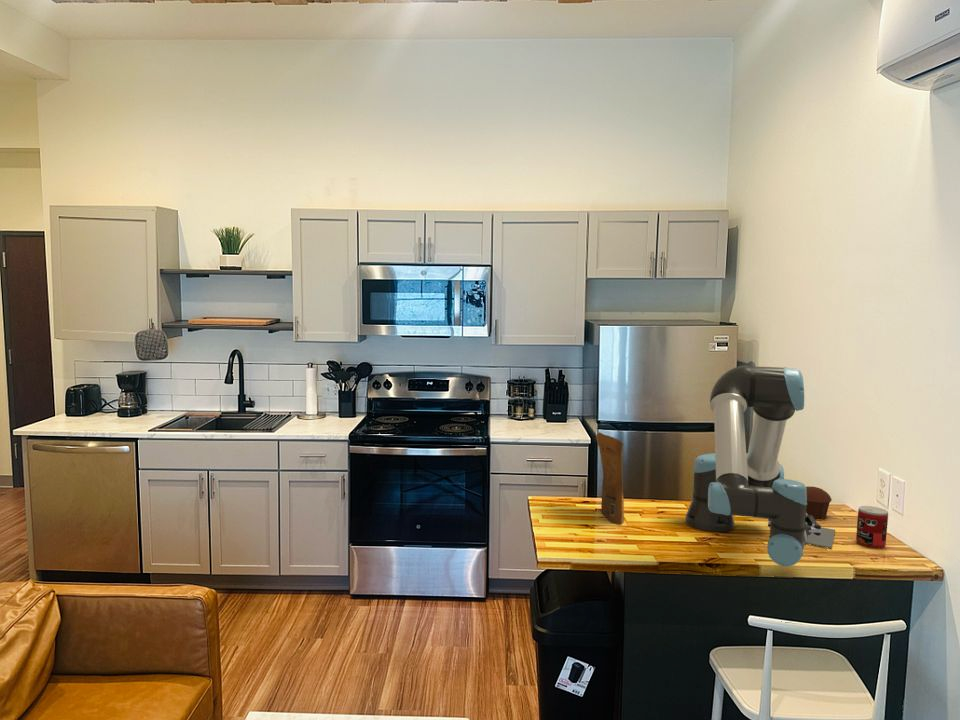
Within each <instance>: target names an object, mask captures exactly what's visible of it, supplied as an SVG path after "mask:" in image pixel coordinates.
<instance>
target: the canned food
mask: <svg viewBox="0 0 960 720" xmlns="http://www.w3.org/2000/svg"><path fill="white" fill-rule="evenodd" d="M888 520H889V511H888V510H886V509H884V508H882V507H877V506H871V505H861V506H858V509H857V520H856V521H857V522H856V534H855V540H856V543H857V544H859V546H862V547H865V548H870V549H884V548H885V547H886V544H887V535H888V534H887V533H888V525H889V524H888Z"/></svg>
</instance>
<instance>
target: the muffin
mask: <svg viewBox="0 0 960 720" xmlns="http://www.w3.org/2000/svg"><path fill="white" fill-rule="evenodd" d="M806 489H807V505H806V513H807V514H808V515H812V516H813V517H814V519H822V520H824V519H823V518H826V519H827V514H828V509H829V508H830V503H831V502H832V501H833V500H832V497H831V495H830V494H829V493H828V492H827V491H826V490H824V489H822V488H820V487H817V486H806Z"/></svg>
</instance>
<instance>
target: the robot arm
mask: <svg viewBox="0 0 960 720" xmlns="http://www.w3.org/2000/svg"><path fill="white" fill-rule="evenodd" d="M709 399H710V400H709V407H710V410H711V411H712V412H713V413H714V416H713V417H714V442H715V443H714V446H715V448H714V450H715V452H714V453H711V452H710V453H705V454H701V455H698V456H697V457H696V458H695V460H694V463H693V464H694V465H693V466H694V467H693V470H692V471H693V481H692V482H693V483H692V498H691V502H690V504H689V507H688V509H687V511H686V514H685V523H686V524H687V525H688V526H690V527H692V528H694V529H697V530H701V531H706V532H715V533H717V532H718V533H719V532H720V533H722V532H730V531H731V530H733V529H734V528H735V519H734V516H737V517H748V518H755V519H763V520H764V519H765V520H767V527H769V540H767V547H766V551H767V555H768V556H769V558H770V559H771V561H773V562H774V564H777V565H779V566H780V567H781V566H782V567H791V566H795V565H797V564H798V562H800V560H801V559H802V557H803V555H804V549H805V545H806V544H805V543H806V540H807V537H808V535H810V534H811V532H812V534H815V535H818V536H820V535H821V527H822V525H821V524H819V523H817V520H815V519H814V517H813V516H812V515H808V516H806V505H807V489H806V487H807V486H806V485H805V484H804V483H803V482H801V481H798V480H794V479H790V478H789V479H787V478H785V471H784V467H783V465H782V464H780V462H779V460H778V457H779V453H780V450H781V449H780V448H781V446H782V441H783V437H784V432H785V429H786V425H787V421H788V420H789V419H790V418H792V417H793V416H794V414H795V413H796V412H799V411H803V410H804V409H805V385H804V377H803V373H802V372H801V370H800V369H797V368H794V367H793V368H790V367H787V366H785V367H778V366H777V367H776V366H775V367H772V366H753V365H752V366H749V365H740V366H735V367H732V368H731V369H729V370H727V371H726V372H725V373H723V374H722V375H721V376H719V378H718V379H717V381H716V382H715V384H714V385H713V387H712V389H711V392H710V397H709ZM747 408H751V409H752V410H753V412H754V413H755V414H754V419H753V425H752V429H751V435H750V439H749V444H748V445H749V446H748V450H747V444H746V431H745V430H746V429H745V412H746V410H747ZM805 522H807V524H805Z"/></svg>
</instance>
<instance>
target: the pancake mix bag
mask: <svg viewBox="0 0 960 720" xmlns="http://www.w3.org/2000/svg"><path fill="white" fill-rule="evenodd" d="M595 436H596V437H595V439H596V443H597V445H598V449H599V454H600V462H601V469H602V485H601V505H600V507H601V510H600V514H602V515H603V516H604V517H605V519H607V520H608V521H609V522H610V523H611V524H616V525H623V524H622V523H624V520H625V507H624V505H625V504H624V479H623V475H624V474H623V473H624V469H623V468H624V466H623V456H624V455H623V449H624V443H623V442H622V441H621V440H620V439H618V438H616V437H613V436H610V435H606V434H604V433H601V432H599V431H598V432H597V433H596V435H595Z"/></svg>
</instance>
